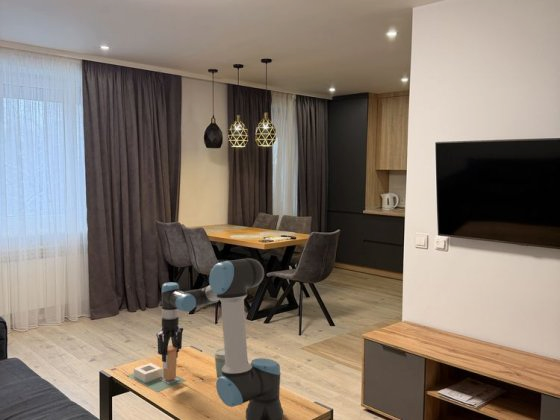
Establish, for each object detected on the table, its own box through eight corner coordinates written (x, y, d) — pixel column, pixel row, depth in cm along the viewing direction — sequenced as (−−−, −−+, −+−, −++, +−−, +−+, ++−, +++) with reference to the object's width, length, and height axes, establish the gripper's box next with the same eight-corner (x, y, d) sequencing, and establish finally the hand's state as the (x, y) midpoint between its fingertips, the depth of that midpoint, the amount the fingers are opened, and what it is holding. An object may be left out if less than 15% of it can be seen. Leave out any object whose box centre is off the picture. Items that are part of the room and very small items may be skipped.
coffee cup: (228, 381, 228) (229, 356, 227) (211, 379, 230) (211, 354, 229) (234, 373, 236) (234, 349, 235) (217, 371, 238) (217, 347, 237)
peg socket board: (186, 383, 224) (186, 372, 224) (157, 395, 212) (157, 383, 212) (155, 368, 240) (155, 357, 239) (126, 378, 228) (126, 367, 227)
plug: (176, 377, 224) (177, 348, 223) (168, 381, 221) (168, 350, 220) (170, 374, 227) (171, 345, 226) (162, 377, 224) (162, 347, 223)
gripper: (180, 311, 230) (179, 359, 233) (149, 319, 218) (149, 369, 220) (190, 314, 225) (189, 363, 228) (159, 323, 213) (158, 374, 215)
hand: (169, 366), depth 224 cm, fingers closed on plug, 4 cm apart
